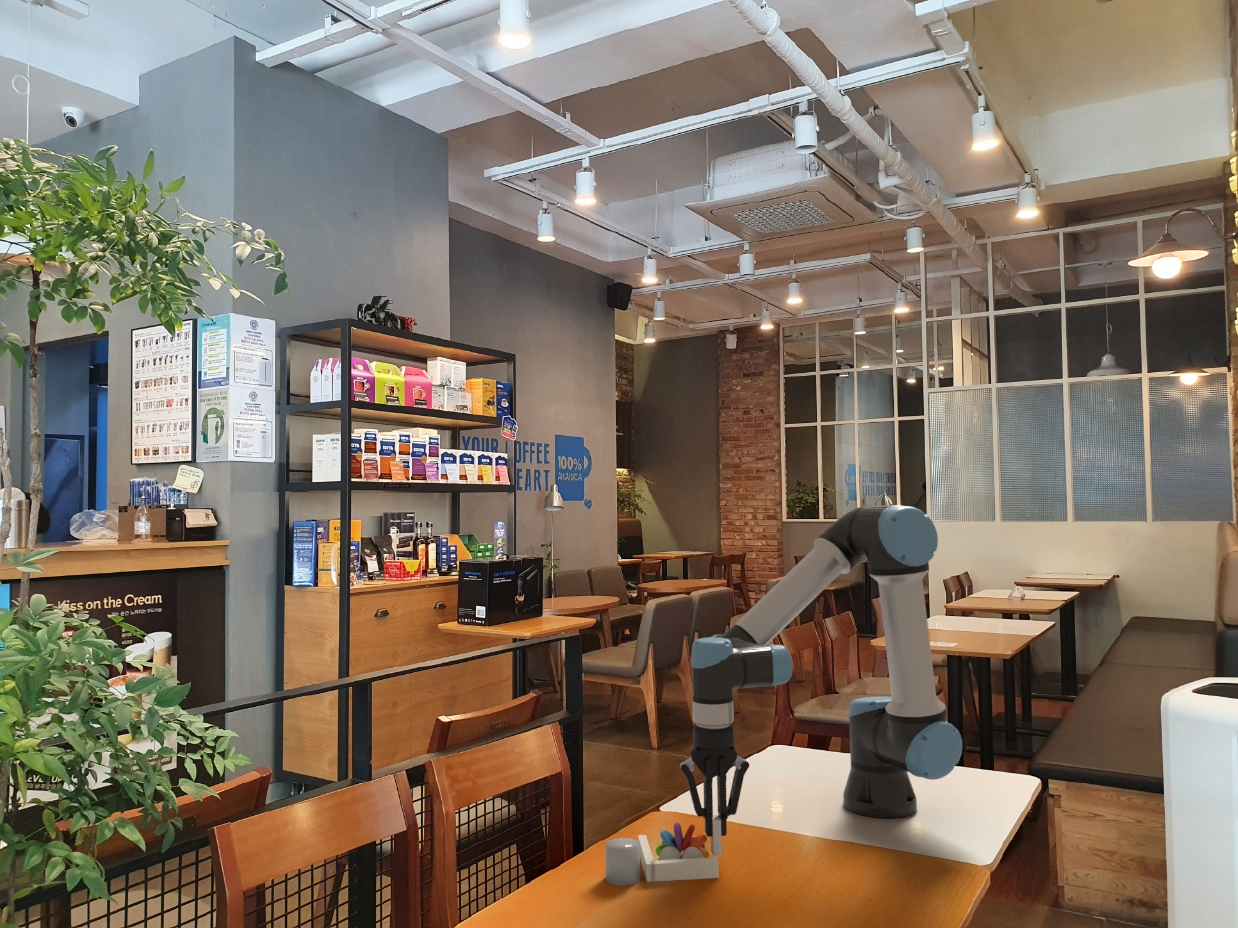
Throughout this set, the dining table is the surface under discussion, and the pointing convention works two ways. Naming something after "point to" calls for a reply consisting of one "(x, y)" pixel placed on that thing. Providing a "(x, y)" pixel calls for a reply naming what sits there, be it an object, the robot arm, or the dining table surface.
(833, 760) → the dining table surface
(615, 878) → the short grey cylinder
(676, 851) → the rainbow petal fan toy
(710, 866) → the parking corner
